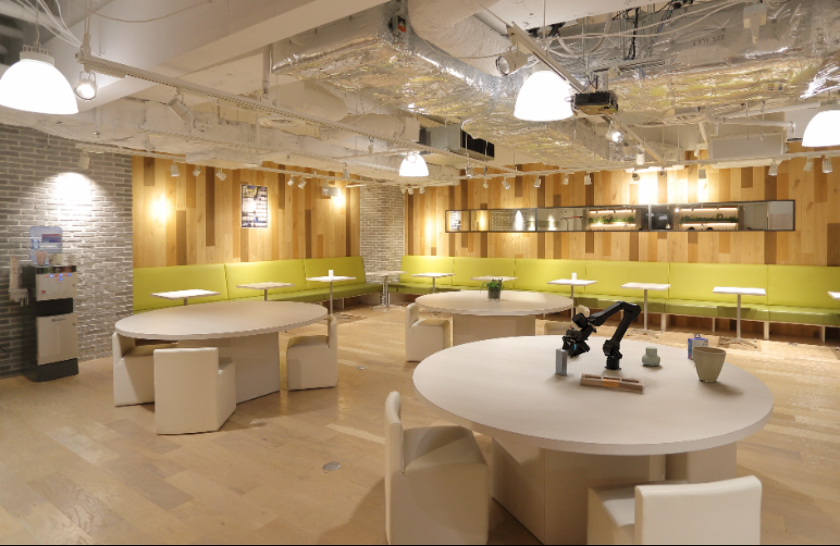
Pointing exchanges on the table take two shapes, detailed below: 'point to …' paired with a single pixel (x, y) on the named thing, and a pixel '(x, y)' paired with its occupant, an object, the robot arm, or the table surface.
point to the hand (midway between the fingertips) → (565, 355)
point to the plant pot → (708, 362)
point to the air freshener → (651, 357)
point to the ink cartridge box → (696, 344)
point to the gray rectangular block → (561, 362)
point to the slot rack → (612, 382)
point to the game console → (573, 345)
